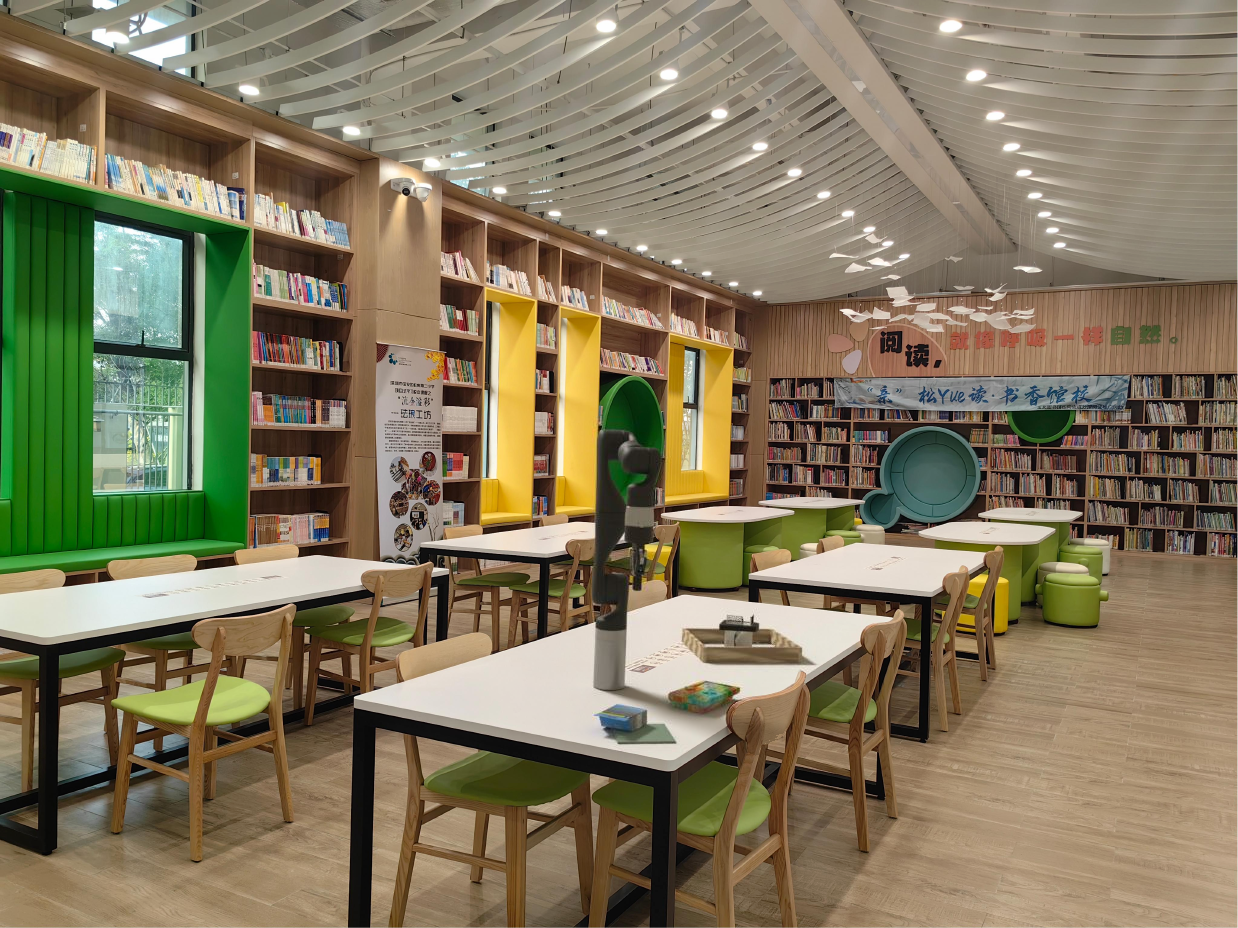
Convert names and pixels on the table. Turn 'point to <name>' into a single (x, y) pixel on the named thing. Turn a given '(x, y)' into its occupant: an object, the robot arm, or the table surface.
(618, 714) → the label tape cartridge
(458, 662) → the table surface
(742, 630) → the black-topped pedestal
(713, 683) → the puzzle game
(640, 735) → the mat
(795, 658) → the holder frame
